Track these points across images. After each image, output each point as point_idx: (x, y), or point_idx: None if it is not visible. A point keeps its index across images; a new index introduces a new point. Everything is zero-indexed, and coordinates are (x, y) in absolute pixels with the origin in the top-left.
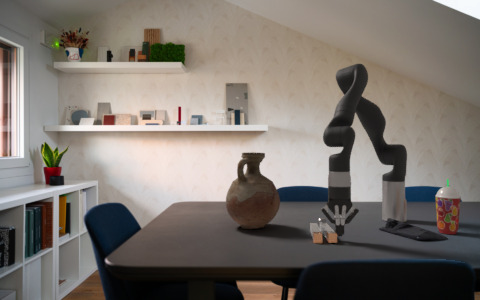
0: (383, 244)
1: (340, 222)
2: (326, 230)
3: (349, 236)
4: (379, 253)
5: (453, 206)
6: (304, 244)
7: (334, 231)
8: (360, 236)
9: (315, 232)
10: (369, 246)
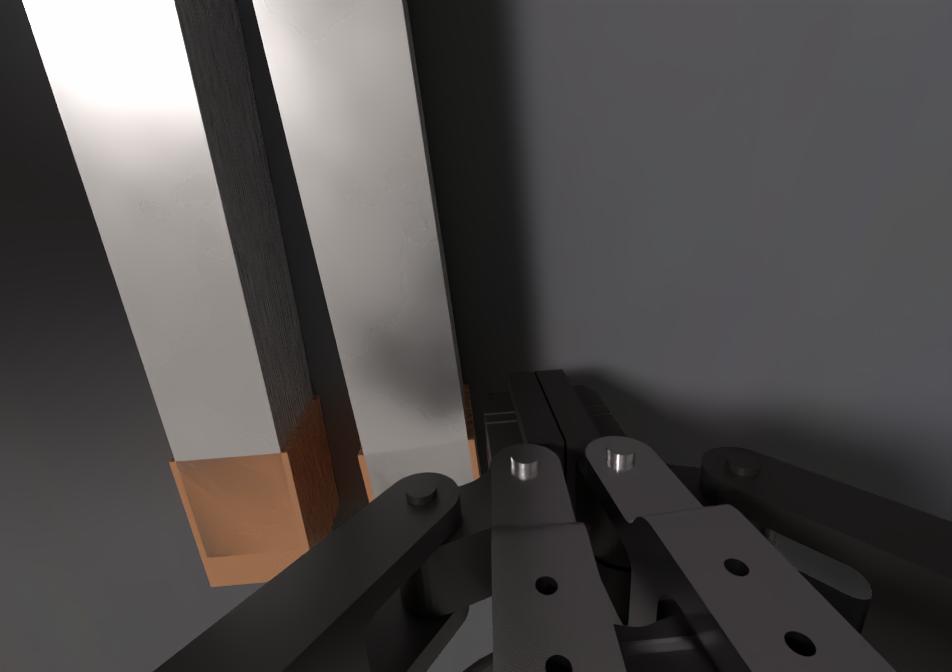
0: (918, 428)
1: (589, 528)
2: (357, 424)
3: (689, 108)
4: None
5: None
6: (172, 560)
7: (469, 464)
8: (839, 81)
9: (215, 505)
10: None
